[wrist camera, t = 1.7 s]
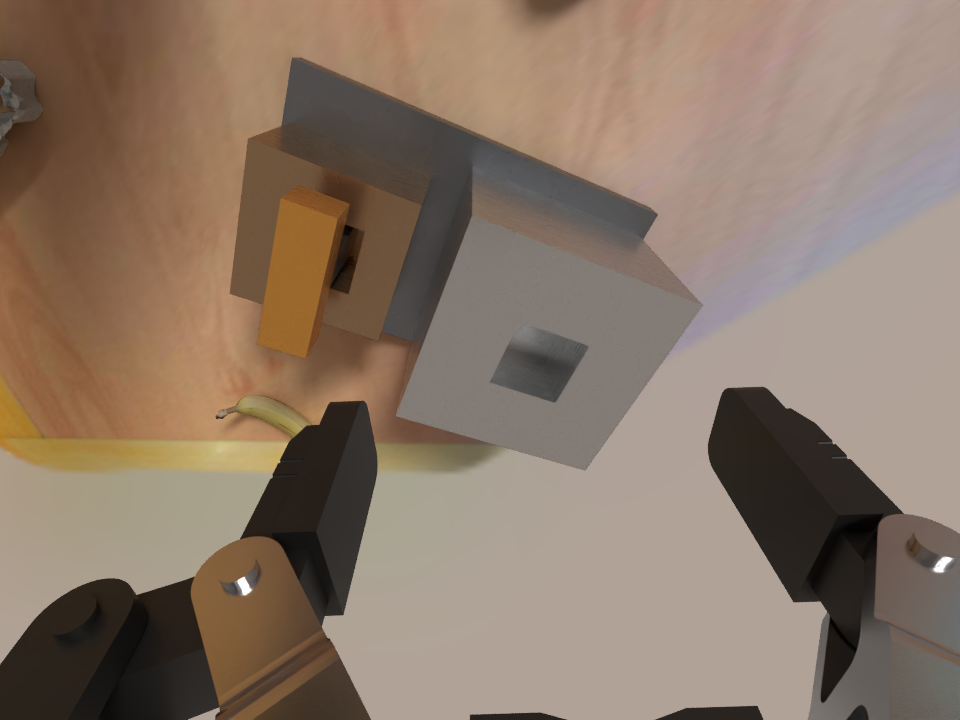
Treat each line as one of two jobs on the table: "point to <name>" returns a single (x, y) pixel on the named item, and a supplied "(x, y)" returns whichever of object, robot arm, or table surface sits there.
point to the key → (303, 268)
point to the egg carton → (17, 97)
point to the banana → (268, 413)
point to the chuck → (471, 267)
